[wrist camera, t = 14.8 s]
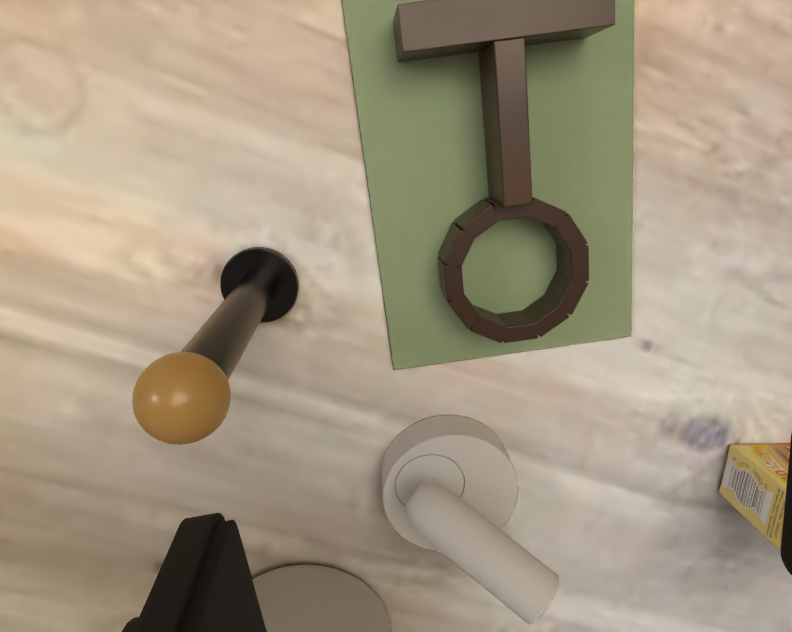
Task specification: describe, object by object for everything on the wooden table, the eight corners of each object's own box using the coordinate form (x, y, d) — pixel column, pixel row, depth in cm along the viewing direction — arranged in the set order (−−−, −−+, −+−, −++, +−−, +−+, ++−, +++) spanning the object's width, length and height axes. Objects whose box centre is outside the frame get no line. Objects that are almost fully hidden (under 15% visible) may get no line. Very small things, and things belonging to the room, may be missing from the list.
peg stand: (232, 324, 33) (115, 491, 17) (214, 252, 31) (72, 363, 16) (305, 314, 33) (255, 471, 17) (291, 241, 31) (223, 342, 16)
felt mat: (393, 368, 34) (393, 370, 34) (340, -11, 28) (340, -13, 27) (629, 334, 34) (631, 336, 34) (632, -49, 28) (635, -51, 28)
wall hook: (512, 677, 30) (355, 608, 28) (476, 552, 39) (357, 492, 37) (611, 566, 28) (451, 482, 26) (549, 461, 37) (427, 392, 35)
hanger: (590, 315, 34) (615, 335, 30) (429, 338, 33) (436, 360, 30) (585, -5, 28) (615, -25, 25) (392, 20, 28) (397, 4, 25)
